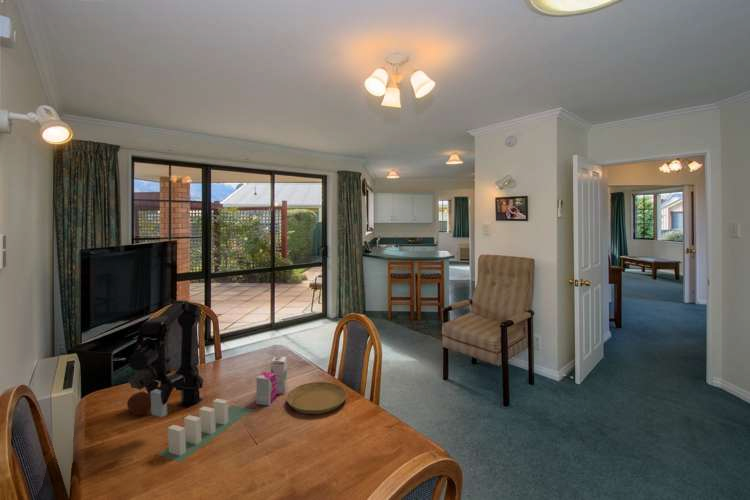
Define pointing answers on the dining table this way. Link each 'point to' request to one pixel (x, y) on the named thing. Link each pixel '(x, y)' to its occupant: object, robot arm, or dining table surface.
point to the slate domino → (157, 404)
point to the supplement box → (266, 389)
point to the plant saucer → (316, 397)
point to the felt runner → (233, 416)
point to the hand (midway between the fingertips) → (159, 402)
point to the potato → (139, 403)
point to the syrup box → (280, 373)
